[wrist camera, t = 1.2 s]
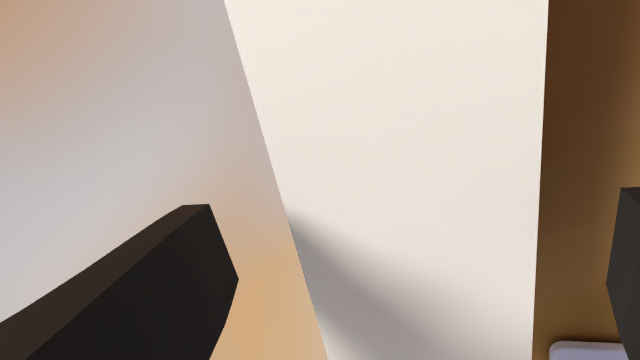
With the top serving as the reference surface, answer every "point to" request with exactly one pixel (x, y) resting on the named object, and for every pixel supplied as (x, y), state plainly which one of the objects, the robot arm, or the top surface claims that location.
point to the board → (406, 166)
